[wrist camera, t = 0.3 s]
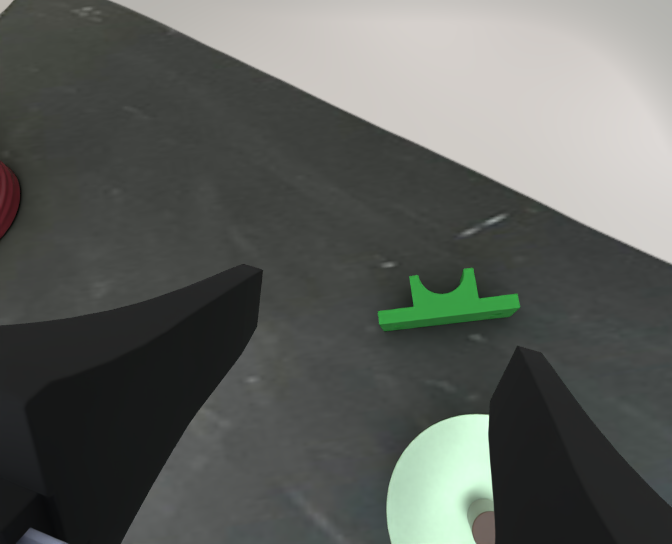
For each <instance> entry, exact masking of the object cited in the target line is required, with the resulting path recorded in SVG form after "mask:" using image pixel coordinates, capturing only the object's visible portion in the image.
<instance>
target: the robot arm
mask: <svg viewBox="0 0 672 544" xmlns="http://www.w3.org/2000/svg"><path fill="white" fill-rule="evenodd" d="M262 274H263V270H262V269H259V268H255V267H252V266H248V265H245V264H242V265H239V266H236V267H233V268H231V269H228V270H226V271H224V272H221V273H219V274H216V275H214V276H212V277H209V278H207V279H204V280H202V281H199V282H197V283H194V284H192V285H190V286H187V287H184V288H182V289H179V290H176V291H173V292H170V293H167V294H165V295H162V296H159V297H156V298H153V299H150V300H147V301H143V302H140V303H137V304H133V305H129V306H125V307H121V308H117V309H113V310H109V311H104V312H99V313H93V314H88V315H83V316H78V317H73V318H66V319H59V320H52V321H44V322H35V323H26V324H15V325H1V326H0V544H121V542H122V540H123V538H124V536H125V534H126V533H127V531H128V529H129V527H130V525H131V523H132V521H133V520H134V518H135V516H136V514H137V512H138V510H139V509H140V507H141V505H142V503H143V501H144V500H145V498H146V496H147V494H148V492H149V490H150V489H151V487H152V485H153V483H154V482H155V480H156V478H157V477H158V475H159V473H160V471H161V470H162V468H163V466H164V465H165V463H166V461H167V459H168V458H169V456H170V454H171V453H172V451H173V449H174V448H175V446H176V444H177V443H178V441H179V439H180V438H181V436H182V435H183V433H184V431H185V430H186V428H187V426H188V425H189V423H190V422H191V420H192V419H193V418H194V416H195V415H196V413H197V412H198V410H199V409H200V408H201V407H202V405H203V404H204V403H205V401H206V400H207V399H208V397H209V396H210V395H211V393H212V392H213V391H214V390H215V388H216V387H217V386H218V384H219V383H220V382H221V380H222V379H223V378H224V377H225V375H226V374H227V373H228V371H229V370H230V369H231V367H232V366H233V365H234V363H235V362H236V361H237V359H238V358H239V357H240V355H241V354H242V352H243V351H244V349H245V347H246V345H247V344H248V342H249V340H250V338H251V336H252V335H253V333H254V331H255V329H256V327H257V322H258V312H259V303H260V293H261V283H262ZM488 441H489V455H490V468H491V480H492V492H493V504H494V516H495V544H672V507H671V506H669V505H668V504H667V503H666V502H665V501H664V500H663V499H662V498H661V497H660V496H659V495H658V494H657V493H656V492H655V491H654V490H653V489H652V488H651V487H650V486H649V485H648V484H647V483H646V482H645V481H644V480H643V479H642V478H641V477H640V475H639V474H638V473H637V472H636V471H635V470H634V469H633V468H632V467H631V466H630V465H629V464H628V463H627V462H626V461H625V460H624V458H623V457H622V456H621V455H620V454H619V453H618V452H617V451H616V449H615V448H614V447H613V446H612V445H611V443H610V442H609V441H608V440H607V439H606V437H605V436H604V435H603V434H602V433H601V431H600V430H599V429H598V428H597V427H596V425H595V424H594V423H593V422H592V420H591V419H590V418H589V416H588V415H587V414H586V413H585V411H584V410H583V409H582V407H581V406H580V405H579V403H578V402H577V401H576V399H575V398H574V397H573V395H572V394H571V392H570V391H569V390H568V388H567V387H566V386H565V384H564V383H563V381H562V380H561V379H560V377H559V376H558V374H557V373H556V372H555V370H554V369H553V367H552V366H551V365H550V363H549V362H548V361H547V359H546V358H545V357H544V355H543V354H542V353H540V352H537V351H534V350H530V349H527V348H524V347H520V346H517V348H516V350H515V352H514V354H513V356H512V358H511V360H510V362H509V364H508V366H507V368H506V370H505V372H504V374H503V376H502V378H501V380H500V382H499V384H498V386H497V388H496V390H495V392H494V394H493V396H492V398H491V400H490V410H489V427H488Z"/></svg>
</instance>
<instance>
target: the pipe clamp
mask: <svg viewBox="0 0 672 544" xmlns="http://www.w3.org/2000/svg"><path fill="white" fill-rule="evenodd" d="M409 277H410V284H411V291H412V298H413V305H414V307H408V308H400V309H392V310H384V311H378V316H379V325H380V326H381V327H382V329H383V330H384V331H392V330H400V329H409V328H417V327H426V326H434V325H443V324H451V323H460V322H468V321H477V320H485V319H494V318H502V317H510V316H511V315H512V314H513V313H515V312H516V311H517V310H518V309H519V308H520V304H519V299H518V295H517V294H512V295H504V296H496V297H488V298H480V299H479V297H478V292H477V286H476V281H475V276H474V270H473V268H468V269H464V270H463V273H462V276H461V279H460V286H459V287H458V288H457V289H455V290H454V291H452V292H450V293H447V294H436V293H433V292H430V291H429V290H427V289H426V288H425V287H424V286H423V285H422V284H421V282H420V280H419V276H418V275H417V276H409Z"/></svg>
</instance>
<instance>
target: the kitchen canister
mask: <svg viewBox="0 0 672 544" xmlns="http://www.w3.org/2000/svg"><path fill="white" fill-rule="evenodd" d="M19 201H20V187H19V183H18V180H17V177H16V175H15V174H14V172H13V171H12V170H11V169H10V168H9V167H7V166H6V165H5V164H4V163H3V162H2V161H0V238H1V237H2V236H3V235H4V234H5V232H6V231H7V230H8V228H9V227H10V225H11V224H12V222H13V220H14V218H15V215H16V213H17V210H18V206H19Z"/></svg>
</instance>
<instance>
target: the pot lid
mask: <svg viewBox="0 0 672 544" xmlns="http://www.w3.org/2000/svg"><path fill="white" fill-rule="evenodd" d="M488 427H489V414H477V413H476V414H462V415H457V416H452V417H449V418H446V419H444V420H441V421H439V422H437V423H435V424H433V425H431V426H429V427H428V428H426V429H425V430H423V431H422V432H421V433H419V434H418V435H417V436H416V437H415V438H414V439H413V440H412V441H411V442H410V443H409V445H408V446H407V447H406V448H405V450H404V451H403V453H402V454H401V456H400V458H399V459H398V461H397V463H396V466H395V468H394V470H393V473H392V476H391V479H390V483H389V487H388V494H387V504H386V516H387V527H388V532H389V536H390V541H391V544H495V516H494V504H493V492H492V480H491V468H490V455H489V441H488Z"/></svg>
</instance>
